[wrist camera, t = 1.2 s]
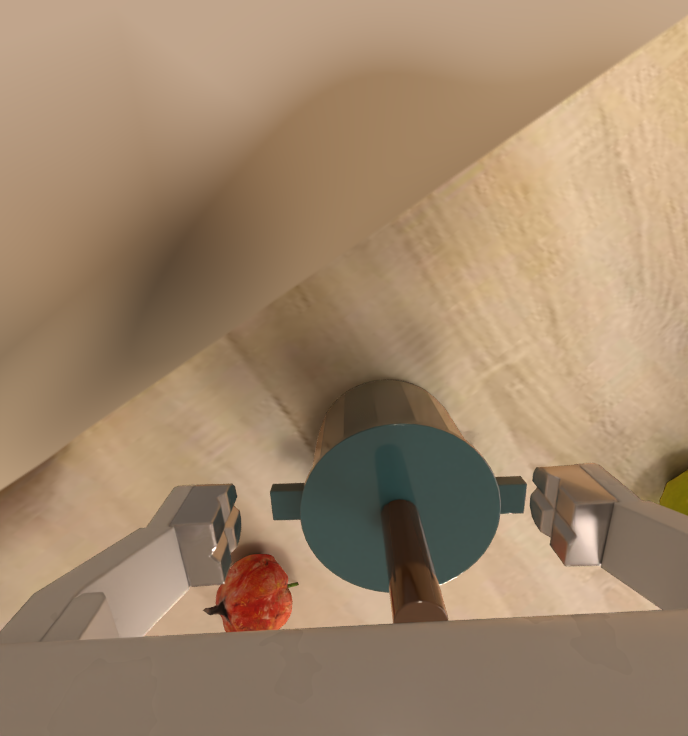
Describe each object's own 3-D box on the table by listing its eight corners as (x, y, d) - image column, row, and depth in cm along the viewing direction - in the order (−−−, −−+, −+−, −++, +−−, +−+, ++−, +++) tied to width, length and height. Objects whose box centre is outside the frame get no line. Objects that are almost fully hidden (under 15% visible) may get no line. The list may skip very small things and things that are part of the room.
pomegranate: (305, 534, 40) (222, 543, 33) (331, 606, 35) (242, 633, 28) (268, 570, 42) (184, 585, 35) (288, 641, 38) (196, 674, 31)
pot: (284, 383, 32) (259, 431, 23) (486, 375, 32) (540, 421, 23) (296, 501, 36) (278, 583, 27) (477, 496, 36) (521, 577, 26)
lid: (294, 419, 24) (264, 506, 15) (501, 412, 23) (586, 497, 15) (309, 581, 28) (291, 721, 19) (487, 577, 27) (548, 717, 19)
